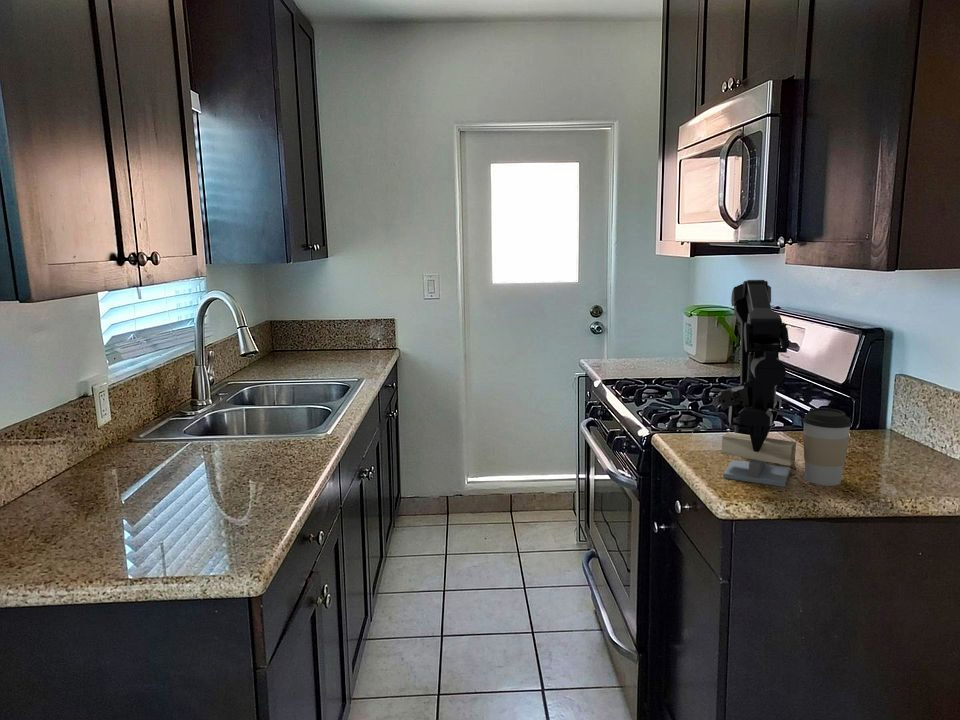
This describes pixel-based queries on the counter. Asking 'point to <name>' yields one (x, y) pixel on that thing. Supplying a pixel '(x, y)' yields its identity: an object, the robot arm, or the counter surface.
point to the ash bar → (769, 451)
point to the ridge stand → (757, 472)
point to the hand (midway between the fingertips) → (758, 448)
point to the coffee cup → (825, 445)
